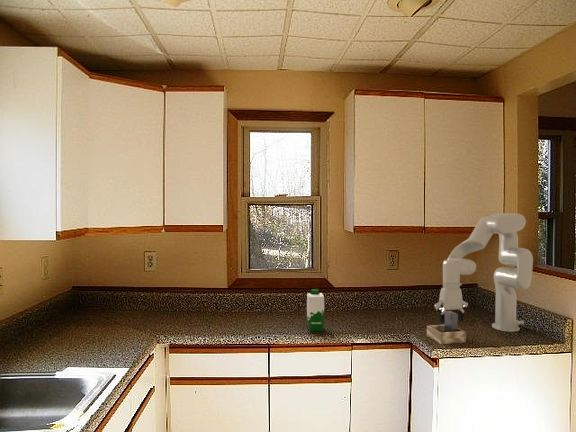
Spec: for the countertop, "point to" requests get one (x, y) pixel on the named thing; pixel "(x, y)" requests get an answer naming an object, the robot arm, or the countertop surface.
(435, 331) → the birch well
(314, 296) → the milk carton
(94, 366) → the countertop surface
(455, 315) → the steel L-bracket
